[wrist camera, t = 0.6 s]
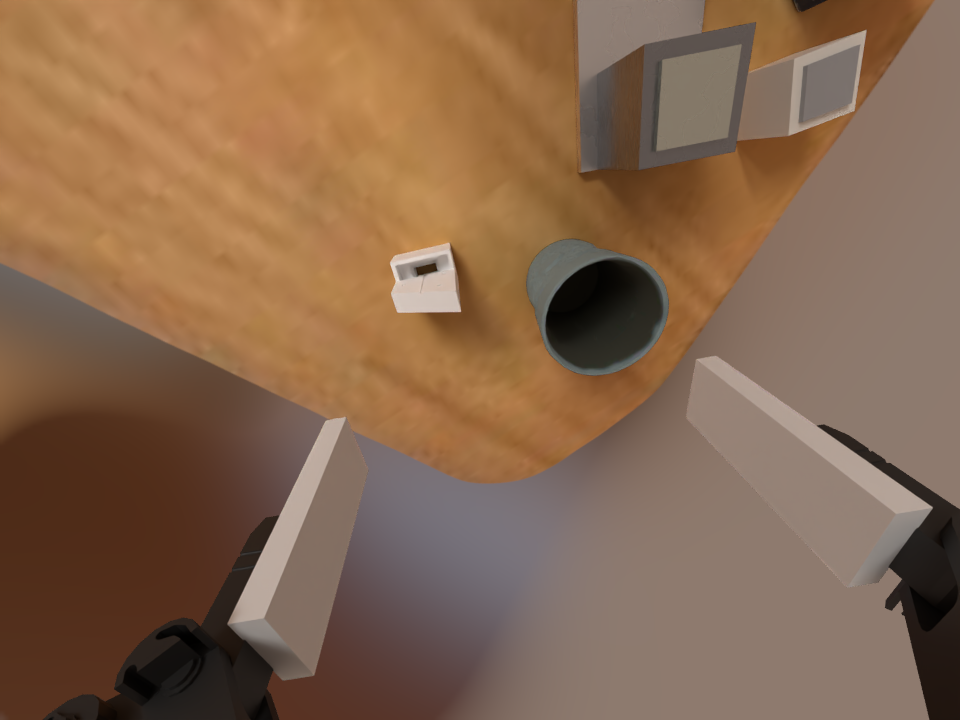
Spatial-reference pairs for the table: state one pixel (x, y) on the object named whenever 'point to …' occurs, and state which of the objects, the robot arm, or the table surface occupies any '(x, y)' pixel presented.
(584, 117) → the rail plate
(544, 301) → the grey green plant pot
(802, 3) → the box
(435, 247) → the white slotted bracket
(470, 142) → the table surface
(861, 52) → the block
